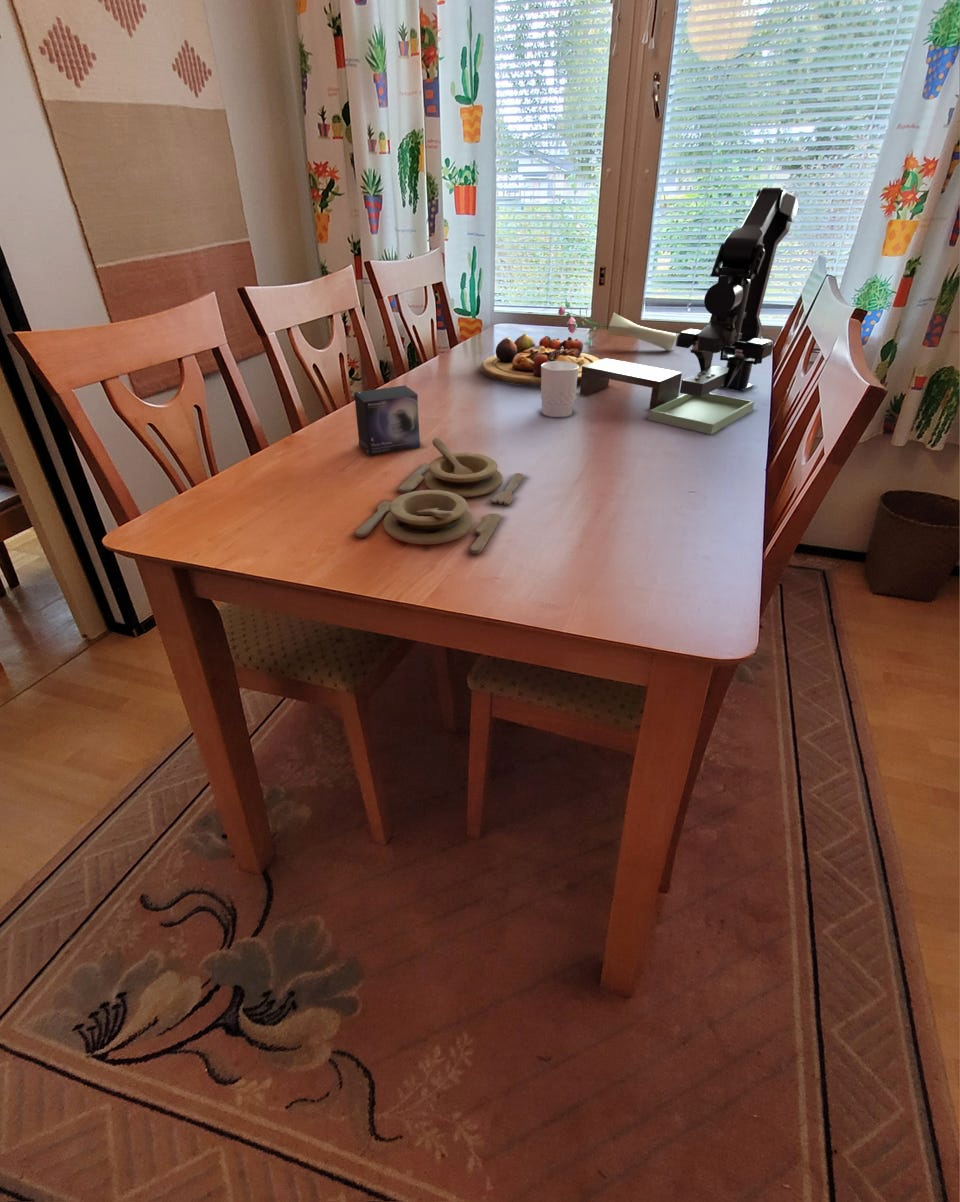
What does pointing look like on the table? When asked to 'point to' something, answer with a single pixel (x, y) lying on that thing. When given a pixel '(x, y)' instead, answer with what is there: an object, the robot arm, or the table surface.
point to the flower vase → (625, 329)
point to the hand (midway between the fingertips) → (715, 385)
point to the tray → (701, 412)
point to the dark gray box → (704, 381)
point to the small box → (387, 419)
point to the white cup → (558, 388)
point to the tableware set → (443, 500)
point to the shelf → (631, 379)
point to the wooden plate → (532, 359)
